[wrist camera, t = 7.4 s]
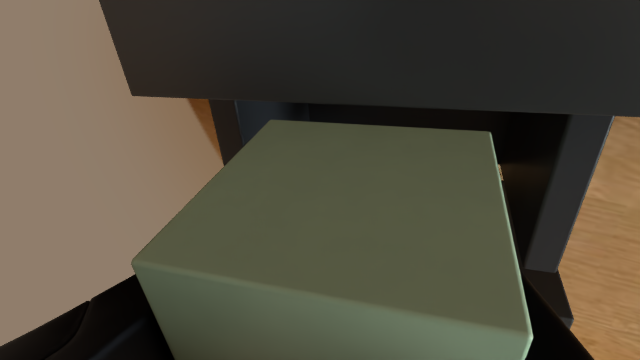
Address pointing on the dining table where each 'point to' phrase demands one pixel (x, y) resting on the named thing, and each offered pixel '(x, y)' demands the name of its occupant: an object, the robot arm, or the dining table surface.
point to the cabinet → (386, 52)
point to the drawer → (511, 153)
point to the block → (343, 251)
